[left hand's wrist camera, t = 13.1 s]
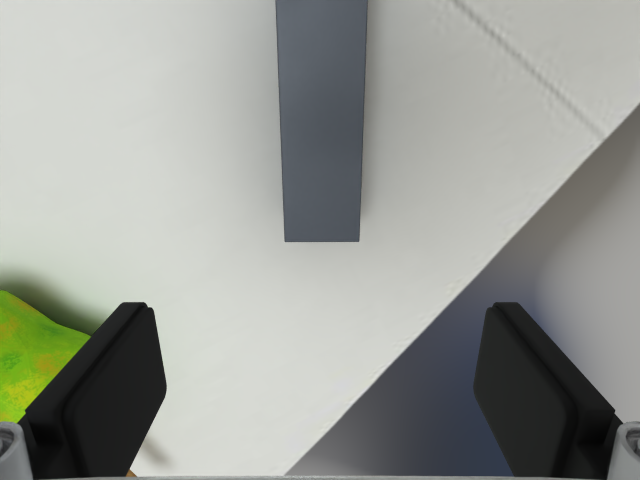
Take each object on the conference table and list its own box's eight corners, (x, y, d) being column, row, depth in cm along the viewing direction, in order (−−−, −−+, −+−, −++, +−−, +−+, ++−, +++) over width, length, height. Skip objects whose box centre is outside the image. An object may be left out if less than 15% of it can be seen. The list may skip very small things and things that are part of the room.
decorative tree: (64, 573, 43) (-196, 381, 33) (111, 481, 52) (-79, 310, 42) (200, 521, 39) (-42, 288, 29) (223, 433, 49) (47, 234, 39)
